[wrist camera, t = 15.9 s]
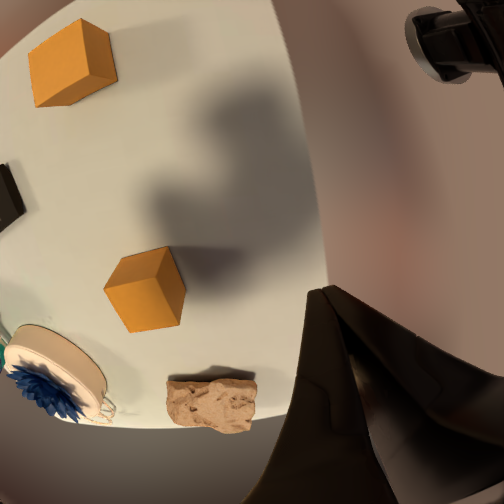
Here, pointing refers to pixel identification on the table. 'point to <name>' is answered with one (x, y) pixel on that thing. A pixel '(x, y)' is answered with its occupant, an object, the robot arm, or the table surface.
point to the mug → (2, 353)
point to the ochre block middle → (147, 291)
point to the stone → (213, 404)
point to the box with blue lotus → (56, 374)
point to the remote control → (8, 199)
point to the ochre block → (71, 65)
